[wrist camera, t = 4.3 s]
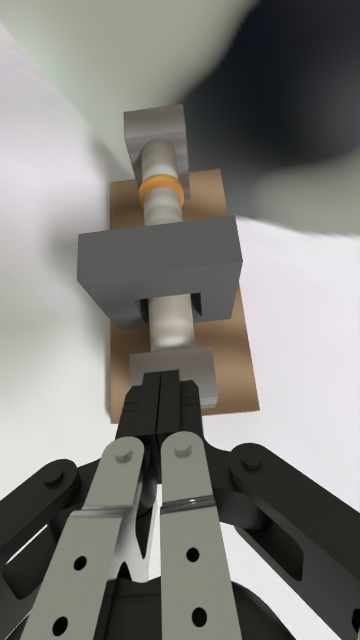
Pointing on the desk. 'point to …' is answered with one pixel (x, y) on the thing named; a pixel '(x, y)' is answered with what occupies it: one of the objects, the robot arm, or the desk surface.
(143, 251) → the gray notched block
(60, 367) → the desk surface
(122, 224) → the pipe stand
